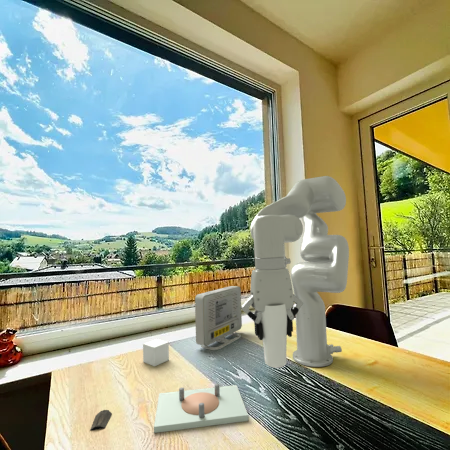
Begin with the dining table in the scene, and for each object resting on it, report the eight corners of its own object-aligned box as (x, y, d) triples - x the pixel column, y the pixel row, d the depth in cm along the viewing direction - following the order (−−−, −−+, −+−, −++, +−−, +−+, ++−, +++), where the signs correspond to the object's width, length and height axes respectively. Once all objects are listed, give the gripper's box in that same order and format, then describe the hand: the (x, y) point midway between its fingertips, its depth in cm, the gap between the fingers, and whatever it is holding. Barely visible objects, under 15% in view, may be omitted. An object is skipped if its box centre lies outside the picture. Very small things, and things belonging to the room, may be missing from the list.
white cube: (143, 362, 92) (142, 343, 92) (157, 356, 96) (157, 338, 97) (154, 366, 88) (154, 347, 88) (169, 360, 93) (168, 341, 93)
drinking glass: (259, 358, 71) (256, 300, 72) (284, 356, 72) (281, 298, 72) (265, 371, 64) (262, 306, 65) (293, 368, 65) (289, 304, 65)
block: (89, 437, 58) (88, 428, 58) (96, 417, 64) (95, 410, 64) (108, 432, 59) (106, 424, 59) (113, 413, 65) (112, 406, 64)
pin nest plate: (236, 389, 73) (236, 375, 73) (248, 420, 60) (247, 403, 60) (159, 398, 69) (159, 383, 70) (153, 432, 57) (153, 414, 57)
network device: (230, 330, 122) (229, 285, 124) (247, 333, 117) (245, 286, 119) (191, 349, 102) (190, 294, 103) (209, 354, 96) (208, 296, 98)
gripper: (296, 260, 74) (300, 328, 73) (233, 265, 71) (237, 334, 71) (309, 263, 66) (314, 338, 66) (239, 268, 64) (243, 346, 63)
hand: (274, 335), depth 68 cm, fingers closed on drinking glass, 6 cm apart
